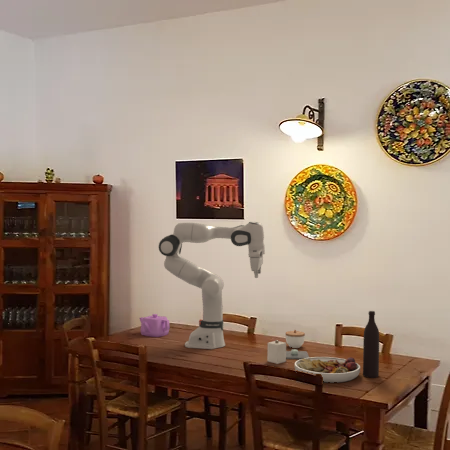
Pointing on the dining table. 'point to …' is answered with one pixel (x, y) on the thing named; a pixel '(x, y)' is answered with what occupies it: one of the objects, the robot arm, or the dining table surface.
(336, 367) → the bowl
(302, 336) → the lidded jar
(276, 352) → the white square canister
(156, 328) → the teakettle
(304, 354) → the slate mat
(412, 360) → the dining table surface
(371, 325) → the wine bottle
